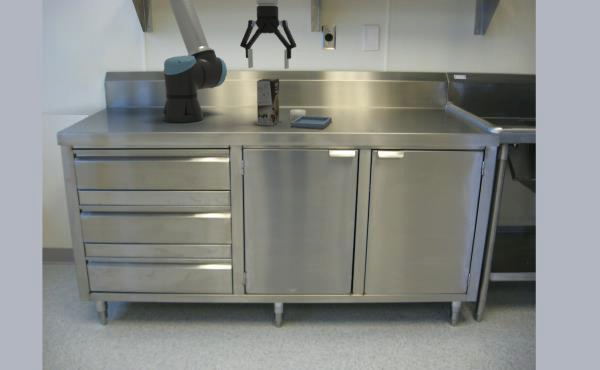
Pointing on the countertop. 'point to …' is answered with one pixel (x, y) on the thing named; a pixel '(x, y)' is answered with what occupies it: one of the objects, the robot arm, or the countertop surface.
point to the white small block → (297, 113)
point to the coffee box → (268, 102)
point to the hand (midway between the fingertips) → (268, 68)
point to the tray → (311, 122)
